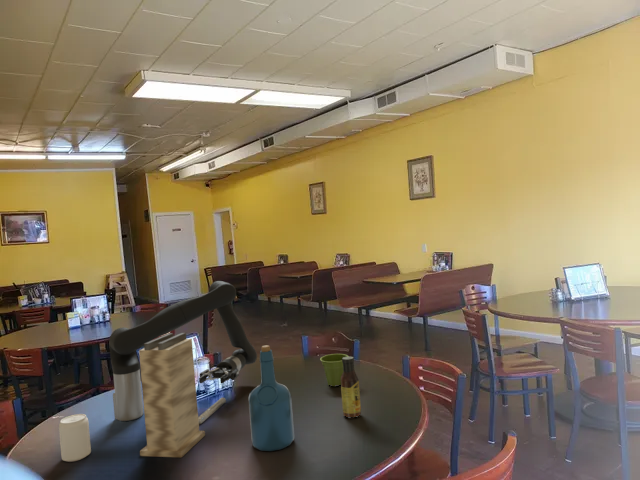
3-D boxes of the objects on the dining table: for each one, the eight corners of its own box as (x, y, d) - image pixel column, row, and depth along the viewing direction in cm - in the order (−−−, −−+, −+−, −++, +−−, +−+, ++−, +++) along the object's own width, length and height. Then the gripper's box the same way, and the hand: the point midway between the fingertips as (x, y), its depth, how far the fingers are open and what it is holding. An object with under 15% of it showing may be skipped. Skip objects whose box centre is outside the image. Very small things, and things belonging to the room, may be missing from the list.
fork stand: (140, 455, 143) (130, 344, 142) (167, 434, 157) (158, 333, 157) (181, 457, 140) (172, 343, 139) (205, 435, 154) (196, 332, 154)
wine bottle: (255, 434, 151) (248, 342, 151) (296, 432, 151) (289, 339, 151) (247, 455, 138) (239, 353, 137) (292, 452, 137) (284, 350, 137)
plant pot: (320, 381, 200) (318, 355, 200) (348, 378, 201) (346, 352, 201) (324, 390, 188) (321, 362, 188) (353, 387, 190) (350, 359, 189)
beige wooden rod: (201, 424, 164) (201, 418, 164) (195, 424, 165) (195, 418, 164) (226, 403, 183) (225, 397, 183) (220, 403, 184) (219, 397, 184)
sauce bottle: (360, 419, 157) (355, 360, 157) (341, 419, 158) (337, 361, 158) (362, 411, 164) (358, 355, 163) (344, 411, 165) (340, 355, 164)
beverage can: (69, 452, 149) (65, 414, 149) (95, 449, 150) (92, 412, 150) (56, 464, 141) (53, 425, 141) (84, 461, 142) (81, 422, 142)
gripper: (212, 358, 192) (192, 370, 177) (244, 358, 189) (227, 370, 173) (213, 376, 193) (194, 390, 177) (246, 376, 189) (229, 390, 174)
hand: (210, 380), depth 175 cm, fingers open, 8 cm apart
